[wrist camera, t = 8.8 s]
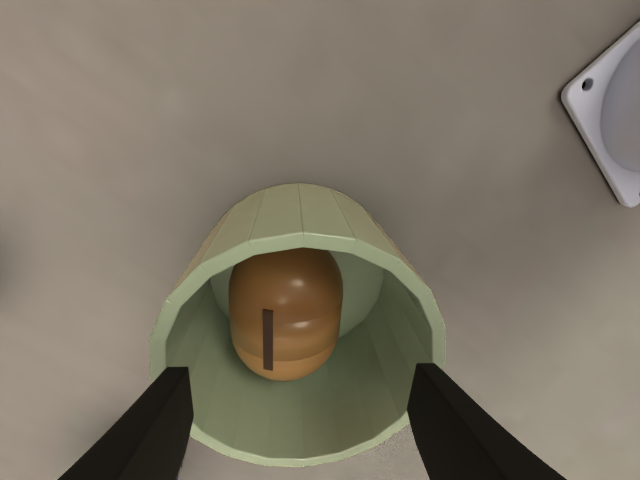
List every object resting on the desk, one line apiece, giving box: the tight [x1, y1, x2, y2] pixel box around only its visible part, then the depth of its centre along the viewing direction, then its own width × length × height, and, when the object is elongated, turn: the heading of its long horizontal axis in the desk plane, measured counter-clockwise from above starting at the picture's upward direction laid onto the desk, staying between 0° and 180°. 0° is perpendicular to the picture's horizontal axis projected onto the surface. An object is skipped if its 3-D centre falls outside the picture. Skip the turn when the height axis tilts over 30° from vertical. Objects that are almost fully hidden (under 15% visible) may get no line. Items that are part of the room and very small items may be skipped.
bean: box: [228, 247, 343, 381], centre depth 14 cm, size 7×5×5 cm
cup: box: [149, 183, 446, 467], centre depth 14 cm, size 10×10×7 cm
